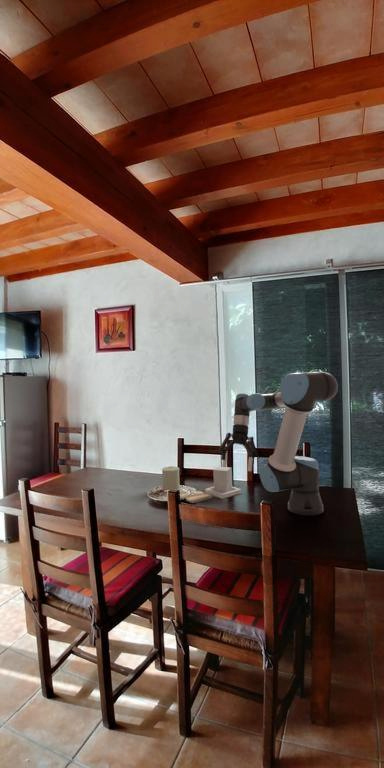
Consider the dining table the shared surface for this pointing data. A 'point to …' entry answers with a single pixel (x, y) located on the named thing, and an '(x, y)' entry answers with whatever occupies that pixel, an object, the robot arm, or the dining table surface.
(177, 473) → the can
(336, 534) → the dining table surface
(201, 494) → the pad
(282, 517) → the dining table surface
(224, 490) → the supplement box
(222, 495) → the white flat square frame
